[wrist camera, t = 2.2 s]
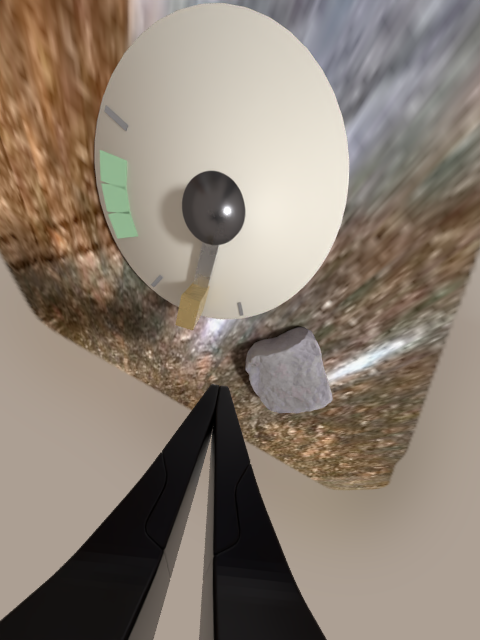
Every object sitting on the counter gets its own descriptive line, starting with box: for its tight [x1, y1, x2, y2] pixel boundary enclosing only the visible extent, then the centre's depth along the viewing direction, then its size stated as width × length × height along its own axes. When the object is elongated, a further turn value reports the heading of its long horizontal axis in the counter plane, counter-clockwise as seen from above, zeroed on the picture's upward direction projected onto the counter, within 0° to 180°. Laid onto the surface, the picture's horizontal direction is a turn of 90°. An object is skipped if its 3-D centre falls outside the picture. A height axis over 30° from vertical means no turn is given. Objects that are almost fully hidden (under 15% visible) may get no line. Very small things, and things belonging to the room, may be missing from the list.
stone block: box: [245, 327, 332, 413], centre depth 24 cm, size 12×5×10 cm
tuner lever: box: [176, 171, 246, 330], centre depth 15 cm, size 13×4×4 cm, turn 161°
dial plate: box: [95, 3, 349, 319], centre depth 16 cm, size 21×21×1 cm
